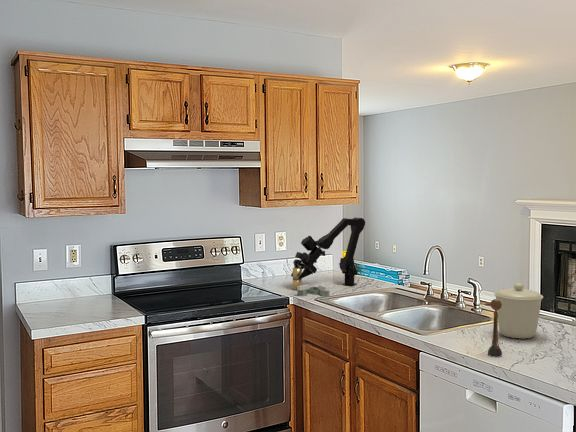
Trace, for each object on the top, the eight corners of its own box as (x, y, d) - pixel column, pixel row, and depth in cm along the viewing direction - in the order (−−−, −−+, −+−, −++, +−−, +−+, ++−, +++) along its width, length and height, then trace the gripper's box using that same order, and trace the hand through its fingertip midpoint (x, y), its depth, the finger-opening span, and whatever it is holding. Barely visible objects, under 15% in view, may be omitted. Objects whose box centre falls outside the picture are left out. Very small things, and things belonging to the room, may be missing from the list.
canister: (532, 344, 227) (534, 289, 226) (485, 336, 239) (487, 283, 238) (548, 335, 241) (550, 282, 240) (503, 327, 253) (504, 277, 251)
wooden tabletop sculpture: (483, 355, 214) (484, 299, 213) (486, 352, 218) (487, 296, 217) (500, 357, 211) (502, 300, 210) (503, 354, 215) (504, 298, 214)
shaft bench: (313, 290, 335) (313, 281, 334) (338, 294, 323) (338, 285, 323) (292, 294, 322) (292, 285, 321) (317, 299, 310) (317, 289, 310)
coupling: (295, 288, 339) (295, 267, 339) (303, 289, 337) (303, 267, 336) (291, 290, 335) (291, 268, 334) (299, 290, 333) (299, 269, 332)
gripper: (296, 245, 345) (278, 265, 340) (312, 248, 328) (293, 270, 324) (308, 258, 349) (291, 278, 344) (324, 262, 332) (306, 283, 328)
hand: (295, 277), depth 335 cm, fingers open, 9 cm apart
